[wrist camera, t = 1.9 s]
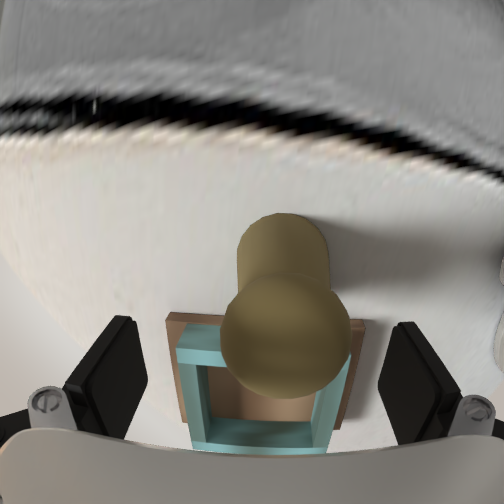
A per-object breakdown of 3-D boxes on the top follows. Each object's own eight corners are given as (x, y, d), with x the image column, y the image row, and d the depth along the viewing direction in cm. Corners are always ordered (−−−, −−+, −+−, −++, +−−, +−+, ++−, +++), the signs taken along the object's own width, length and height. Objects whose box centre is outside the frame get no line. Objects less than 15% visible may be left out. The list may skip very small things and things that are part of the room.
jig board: (361, 319, 22) (375, 353, 18) (338, 420, 26) (343, 454, 22) (170, 312, 23) (151, 343, 19) (185, 413, 27) (174, 446, 23)
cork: (324, 208, 20) (374, 276, 9) (330, 294, 22) (365, 411, 11) (229, 218, 21) (183, 296, 10) (243, 303, 22) (219, 423, 12)
